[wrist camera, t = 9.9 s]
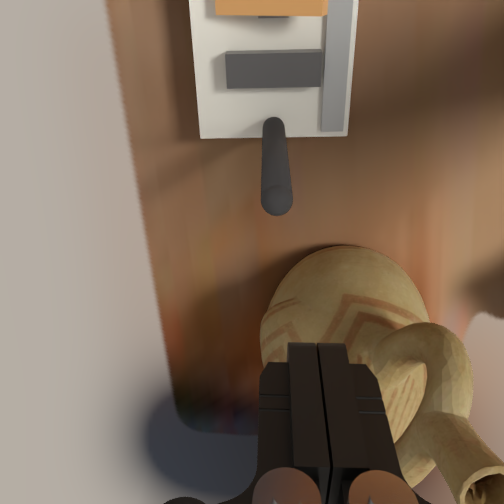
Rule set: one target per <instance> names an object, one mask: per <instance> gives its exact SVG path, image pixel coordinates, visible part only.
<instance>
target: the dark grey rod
mask: <svg viewBox="0 0 504 504" xmlns="http://www.w3.org/2000/svg"><path fill="white" fill-rule="evenodd" d="M292 202H293V196H292V187H291V178H290V169H289V160H288V152H287V143H286V134H285V126H284V123H283V121H282V120H281V119H280V118H278V117H270V118H268V119H267V120H266V121H265V122H264V124H263V130H262V176H261V204H262V207H263V208H264V210H265V211H266V212H267V213H269V214H271V215H274V216H280V215H283V214H285V213H286V212H288V211H289V209H290V208H291V206H292Z"/></svg>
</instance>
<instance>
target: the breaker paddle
mask: <svg viewBox="0 0 504 504" xmlns="http://www.w3.org/2000/svg"><path fill="white" fill-rule="evenodd" d="M215 10H216V15H252V16H325V15H327V13H328V0H215Z"/></svg>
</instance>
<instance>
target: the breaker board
mask: <svg viewBox="0 0 504 504" xmlns="http://www.w3.org/2000/svg"><path fill="white" fill-rule="evenodd" d="M358 1H359V0H328V13H327V15H325V16H252V15H216V10H215V0H189V8H190V20H191V32H192V44H193V56H194V68H195V80H196V92H197V104H198V116H199V127H200V139H207V138H262V130H263V124H264V122H265V121H266V120H267V119H268V118H270V117H278V118H280V119H281V120H282V121H283V123H284V126H285V134H286V137H333V136H347V133H348V121H349V109H350V97H351V85H352V73H353V61H354V49H355V37H356V25H357V13H358Z"/></svg>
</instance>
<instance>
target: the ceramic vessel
mask: <svg viewBox="0 0 504 504" xmlns="http://www.w3.org/2000/svg"><path fill="white" fill-rule="evenodd" d="M288 342H304V343H315V344H317V343H345V345H346V348H347V353H348V359H349V364H366V365H367V366H368V368H369V369H370V370H371V371H372V373H373V374H374V375H375V377H376V378H377V379H378V383H379V387H380V390H381V394H382V400H383V402H384V406H385V410H386V415H387V418H388V422H389V426H390V430H391V434H392V438H393V441H394V445H395V449H396V453H397V457H398V461H399V465H400V469H401V472H402V475H403V477H404V479H405V480H406V482H407V483H408V485H409V486H410V487H411V488H413V487H414V486H415V485H417V484H418V483H419V482H420V481H421V480H423V479H424V478H425V477H426V476H427V475H428V473H429V472H430V471H431V470H432V469H433V468H434V467H435V466H436V465H437V467H438V469H439V470H440V472H441V473H442V475H443V477H444V479H445V481H446V482H447V484H448V486H449V488H450V490H451V492H452V494H453V496H454V498H455V501H456V503H457V504H504V463H503V461H502V460H501V459H500V458H499V457H498V456H497V455H496V454H495V453H494V452H493V451H492V450H491V449H490V448H489V447H488V446H487V445H486V444H485V443H484V441H483V440H482V439H481V438H480V436H479V435H478V434H477V433H476V432H475V430H474V429H473V427H472V426H471V424H470V423H469V421H468V416H469V413H470V409H471V404H472V397H473V371H472V367H471V362H470V360H469V357H468V354H467V351H466V349H465V347H464V344H463V343H462V342H461V341H460V340H459V338H458V337H457V336H456V335H455V334H454V333H452V332H451V331H449V330H448V329H447V328H445V327H443V326H441V325H438V324H435V323H430V321H429V317H428V313H427V311H426V308H425V305H424V303H423V300H422V297H421V295H420V293H419V291H418V290H417V288H416V286H415V285H414V283H413V282H412V280H411V279H410V278H409V276H408V275H407V274H406V273H405V271H404V270H403V269H402V268H401V267H400V266H399V265H398V264H397V263H396V262H394V261H393V260H391V259H390V258H388V257H387V256H385V255H383V254H381V253H378V252H376V251H374V250H371V249H368V248H363V247H357V246H334V247H329V248H325V249H322V250H319V251H316V252H314V253H312V254H310V255H308V256H306V257H305V258H304V259H302V260H301V261H300V262H298V263H297V264H296V265H295V266H294V267H293V268H292V269H291V270H290V271H289V272H288V273H287V275H286V276H285V277H284V279H283V280H282V281H281V283H280V284H279V286H278V287H277V289H276V291H275V294H274V296H273V297H272V299H271V302H270V304H269V307H268V310H267V312H266V313H265V314H264V316H263V318H262V321H261V325H260V348H261V356H262V362H263V367H264V368H265V366H266V365H267V363H268V362H287V345H288Z"/></svg>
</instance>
